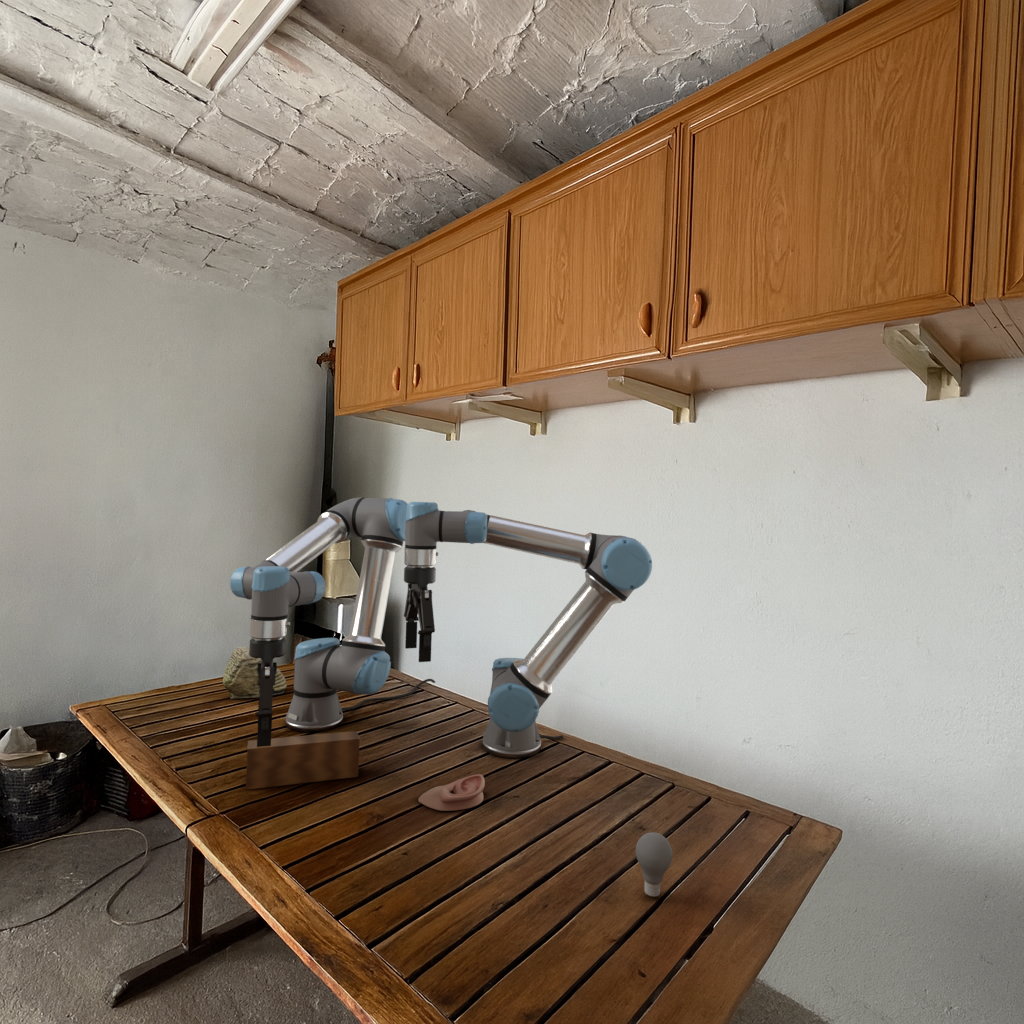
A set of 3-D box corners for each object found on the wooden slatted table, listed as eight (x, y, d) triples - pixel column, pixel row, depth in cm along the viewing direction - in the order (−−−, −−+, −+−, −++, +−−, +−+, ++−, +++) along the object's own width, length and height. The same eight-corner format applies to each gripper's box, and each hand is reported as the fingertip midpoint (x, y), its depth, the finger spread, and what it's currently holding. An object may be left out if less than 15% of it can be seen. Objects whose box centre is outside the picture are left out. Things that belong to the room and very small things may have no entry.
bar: (245, 789, 135) (247, 749, 135) (246, 780, 140) (247, 740, 140) (358, 776, 144) (359, 738, 144) (355, 767, 149) (356, 730, 148)
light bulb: (629, 883, 108) (632, 825, 107) (663, 883, 108) (666, 825, 108) (639, 906, 102) (642, 844, 101) (675, 905, 102) (678, 844, 102)
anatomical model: (413, 788, 131) (431, 765, 142) (412, 807, 131) (431, 783, 142) (475, 796, 128) (489, 773, 139) (474, 816, 128) (488, 791, 139)
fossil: (218, 695, 195) (220, 647, 195) (278, 685, 208) (279, 640, 207) (228, 703, 189) (230, 653, 188) (289, 692, 201) (290, 645, 201)
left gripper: (288, 649, 128) (283, 754, 128) (284, 626, 151) (280, 714, 151) (248, 651, 125) (243, 757, 125) (251, 626, 149) (246, 717, 149)
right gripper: (450, 572, 141) (447, 666, 142) (422, 560, 164) (420, 642, 165) (417, 572, 139) (414, 669, 139) (393, 561, 162) (391, 643, 162)
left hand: (263, 734), depth 138 cm, fingers open, 13 cm apart
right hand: (417, 654), depth 152 cm, fingers open, 13 cm apart
